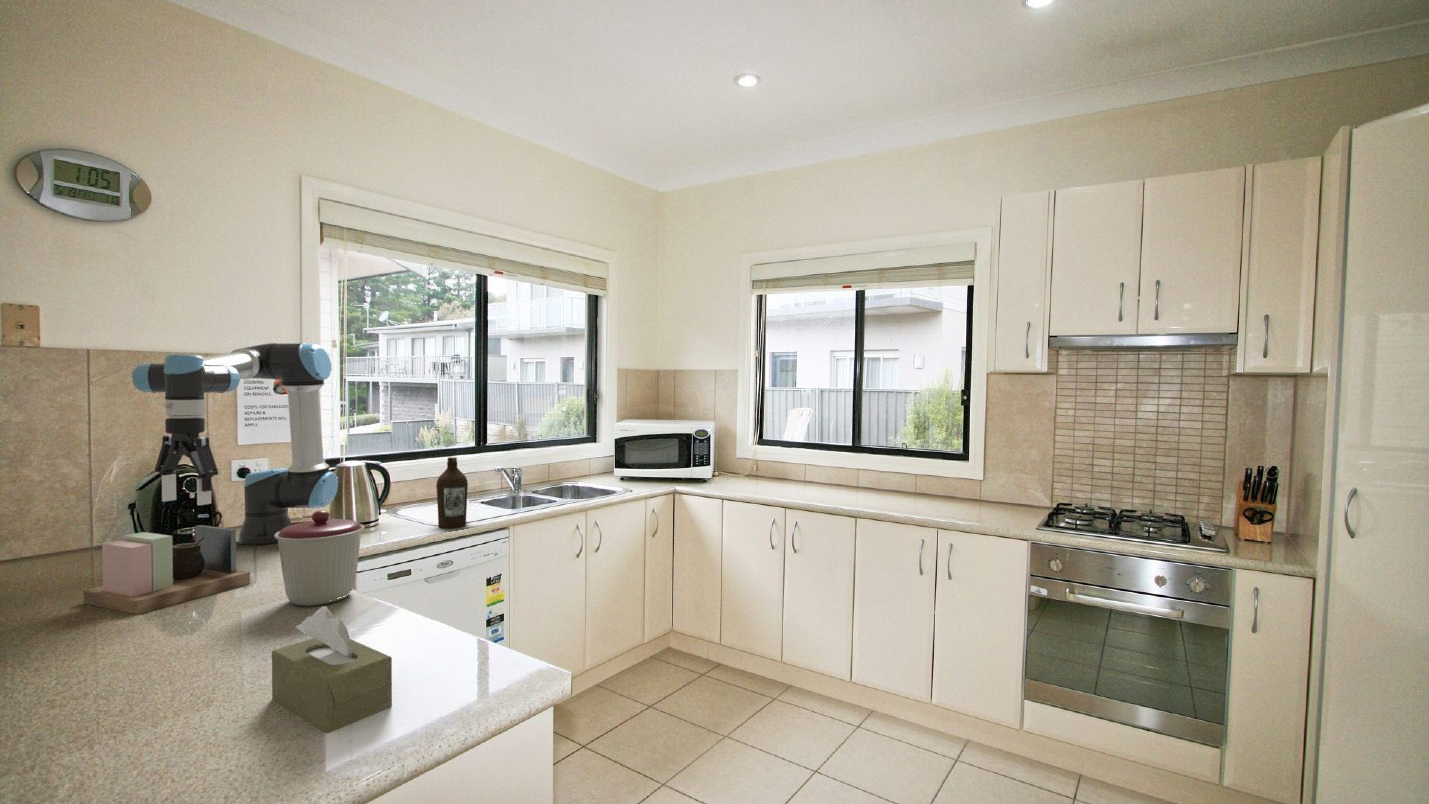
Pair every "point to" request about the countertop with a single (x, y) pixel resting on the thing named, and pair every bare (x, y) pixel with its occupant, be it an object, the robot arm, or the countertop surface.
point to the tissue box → (330, 675)
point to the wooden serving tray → (168, 592)
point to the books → (138, 564)
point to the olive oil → (452, 496)
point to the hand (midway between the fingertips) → (186, 502)
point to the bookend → (217, 548)
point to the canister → (319, 559)
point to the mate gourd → (187, 560)
